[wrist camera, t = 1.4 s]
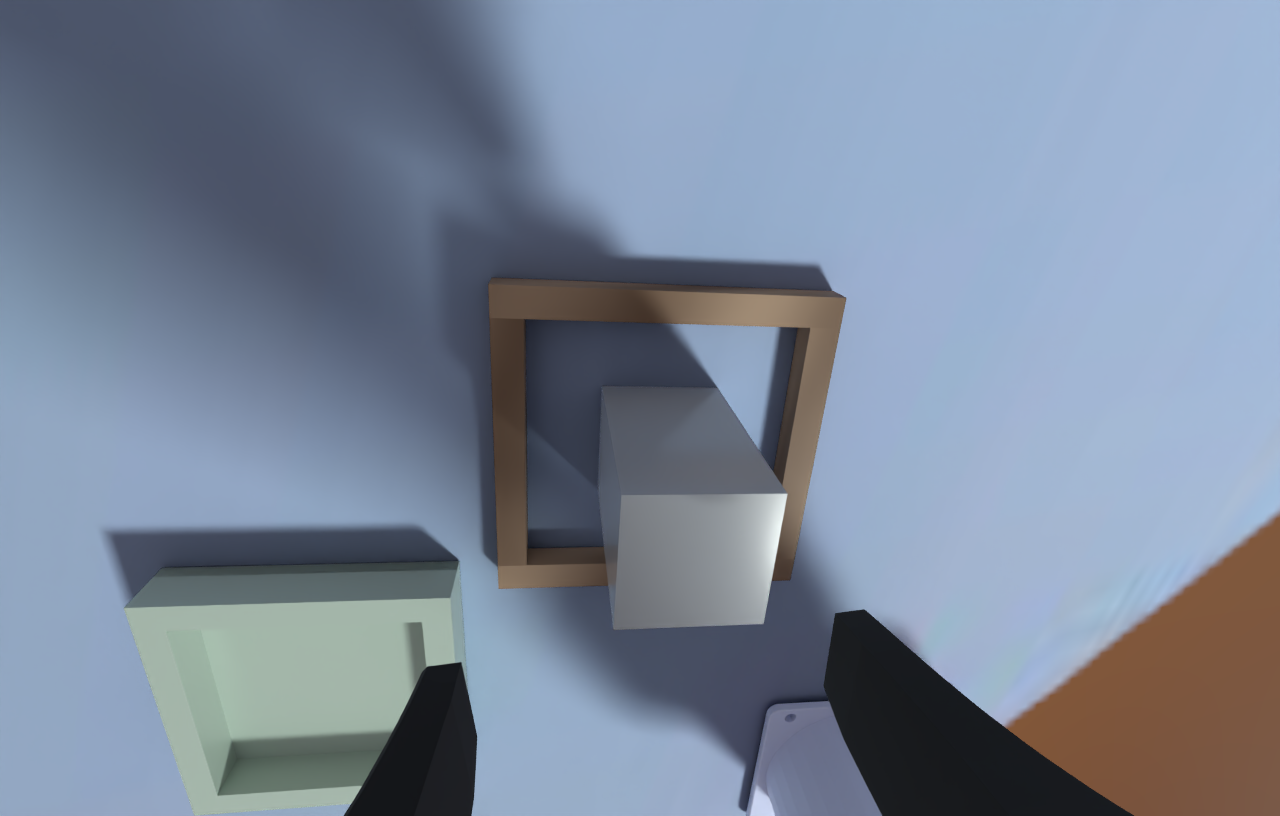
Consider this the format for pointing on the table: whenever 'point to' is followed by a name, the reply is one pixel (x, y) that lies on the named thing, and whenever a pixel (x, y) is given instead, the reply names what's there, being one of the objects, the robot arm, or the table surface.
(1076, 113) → the table surface
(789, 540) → the walnut frame
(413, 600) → the sage tray
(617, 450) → the stone block
